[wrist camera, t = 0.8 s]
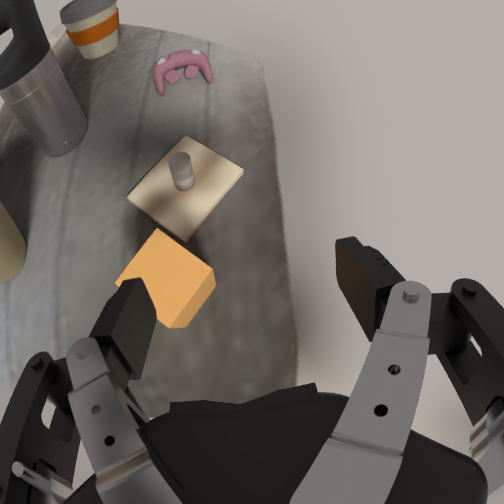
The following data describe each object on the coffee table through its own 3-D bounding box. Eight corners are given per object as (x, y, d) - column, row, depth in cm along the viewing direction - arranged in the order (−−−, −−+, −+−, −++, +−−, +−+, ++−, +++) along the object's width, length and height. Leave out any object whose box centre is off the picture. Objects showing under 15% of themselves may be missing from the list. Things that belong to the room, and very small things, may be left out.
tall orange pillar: (145, 296, 31) (114, 283, 21) (175, 256, 33) (157, 227, 23) (185, 327, 31) (169, 328, 21) (216, 285, 32) (212, 268, 22)
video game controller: (209, 78, 43) (204, 44, 38) (215, 83, 40) (210, 46, 35) (156, 92, 41) (148, 58, 36) (158, 98, 38) (149, 60, 33)
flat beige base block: (129, 200, 34) (114, 178, 28) (186, 139, 37) (182, 111, 31) (185, 243, 33) (178, 225, 27) (243, 173, 36) (246, 147, 30)
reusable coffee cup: (94, 68, 40) (75, 14, 26) (67, 60, 41) (49, 15, 27) (137, 38, 44) (127, -14, 29) (106, 32, 45) (95, -13, 30)
